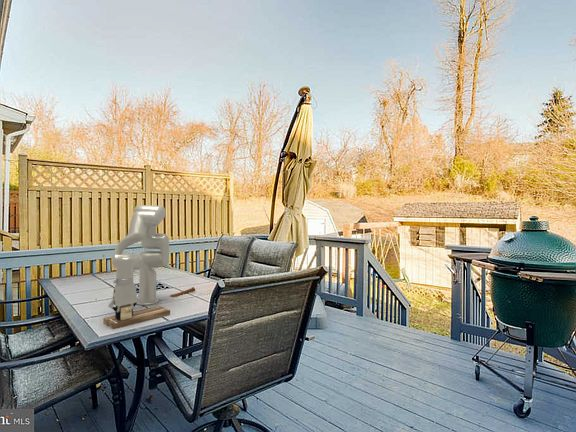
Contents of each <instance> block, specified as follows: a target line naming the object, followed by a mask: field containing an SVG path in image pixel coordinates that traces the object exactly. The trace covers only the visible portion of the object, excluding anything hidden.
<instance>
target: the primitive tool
mask: <svg viewBox="0 0 576 432" xmlns="http://www.w3.org/2000/svg"><path fill="white" fill-rule="evenodd" d="M193 291H195V292H196V288H195V287H194V286H193V287H191V288H189V289H185V290H183V291H180V292H177V293H173V294H171V295H169V297H171V298H177V297H180V295H181V296H183V294H184V295H186V293H187V294H190V293H194V292H193ZM189 292H190V293H189Z"/></svg>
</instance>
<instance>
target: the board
mask: <svg viewBox="0 0 576 432" xmlns="http://www.w3.org/2000/svg"><path fill="white" fill-rule="evenodd" d="M167 316H171V310H170V309H168V308H165V307H163V306H161V305H157V306H151V307H148V308H142V309H138V310H135V311H134V310H133V315H132V318H129V319H125V320H117V319H116V318H115V315H112V316H107V317H103V319H102V320H103V321H102V322H103V324H104V325H105V324H106V326H107V327H109V328H111V329H112V330H116V328H117V329H120V327H121V328H125V327H128V326H131V325H132V326H133V325H135V324H139V323H143V322H147V321H151V320H155V319H159V318H163V317H167Z"/></svg>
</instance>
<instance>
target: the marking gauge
mask: <svg viewBox="0 0 576 432" xmlns="http://www.w3.org/2000/svg"><path fill="white" fill-rule="evenodd" d="M119 312H120V320H125V319H129V318H132V306H131V305H124V306H121V307H120V311H119Z"/></svg>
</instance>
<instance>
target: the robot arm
mask: <svg viewBox="0 0 576 432" xmlns="http://www.w3.org/2000/svg"><path fill="white" fill-rule="evenodd" d="M166 213H167V211H166V209H165V206H163V205H150V204H149V205H145V204H144V205H143V204H141V205H136V206H135V207H134V210H133V214H132V216H131V219H130V224H129V229H128V232H127V235H126V236H125V237H123V239H121V240H120V241H119V242H118V243H117V245H116V246H115V248H114V251H113V255H112V261H111V262H112V267H114V269H116V273H115V274H116V276H115V280H113V281H112V282H113V284H114V288H113V292H112V300H111V301H110V303H108V305H107V307H108V308H110V309H112V310H113V311H114V313H115V315H114V316H115V318H116V319H117V320H120V312H119V311H120V307H121V306H124V305H131V306H132V315H133V311H134V308H135V307H136V305H138V306H150V305H156V304H158V303H159V299H158V298H157V271H156V270H155V269H154V267H155V268H156V267H161V268H162V267H164V268H165V267H166V266H168V265H169V262H170V237H169V235H168V234H166V233H158V232H157V226H159V225H160V224H161V223H162V222H163V220H165V217H166ZM137 243H141V248H143V249H146V250H144V251H141V252H139V254H138V253H124V251H125V250H126V249H127V248H128V247H130V246H132V245H134V244H137ZM148 249H150V250H148ZM137 269H139V276H138V277H139V278H138V280H139V282H138V284H139V287H138V288H139V289H138V293H137V286H136V283H135V282H134V270H137Z"/></svg>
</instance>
